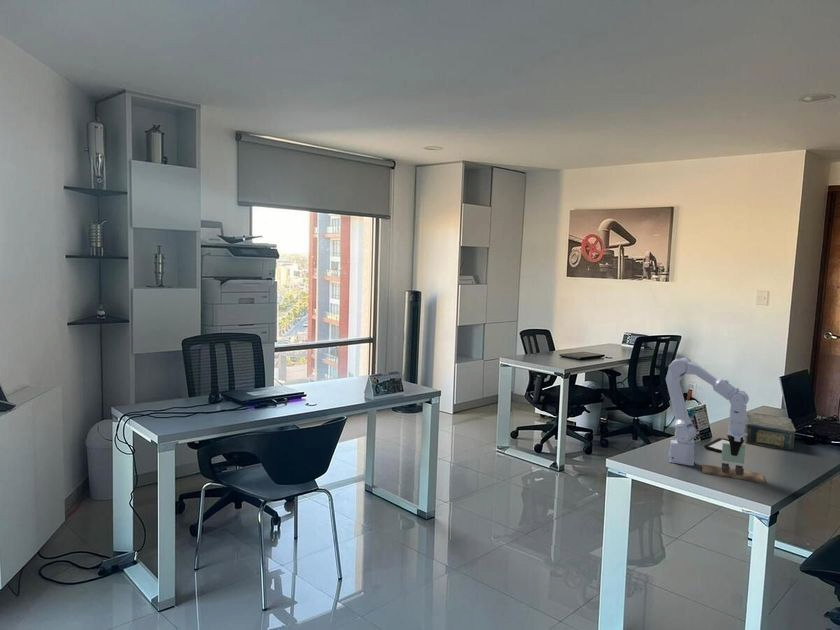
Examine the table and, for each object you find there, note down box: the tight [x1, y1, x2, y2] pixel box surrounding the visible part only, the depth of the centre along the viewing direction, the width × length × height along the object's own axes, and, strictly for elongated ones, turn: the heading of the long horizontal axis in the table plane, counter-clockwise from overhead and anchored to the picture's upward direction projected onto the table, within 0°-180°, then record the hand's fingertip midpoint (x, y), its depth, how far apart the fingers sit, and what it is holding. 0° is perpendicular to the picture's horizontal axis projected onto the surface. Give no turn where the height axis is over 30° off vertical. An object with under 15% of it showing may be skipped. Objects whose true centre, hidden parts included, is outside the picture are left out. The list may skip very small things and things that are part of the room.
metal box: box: [744, 411, 797, 451], centre depth 300 cm, size 21×32×10 cm, turn 153°
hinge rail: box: [700, 462, 766, 484], centre depth 243 cm, size 22×10×3 cm, turn 67°
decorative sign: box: [703, 437, 730, 454], centre depth 280 cm, size 22×2×15 cm
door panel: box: [720, 443, 746, 465], centre depth 243 cm, size 8×2×7 cm, turn 67°
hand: (733, 454), depth 243 cm, fingers closed on door panel, 2 cm apart
